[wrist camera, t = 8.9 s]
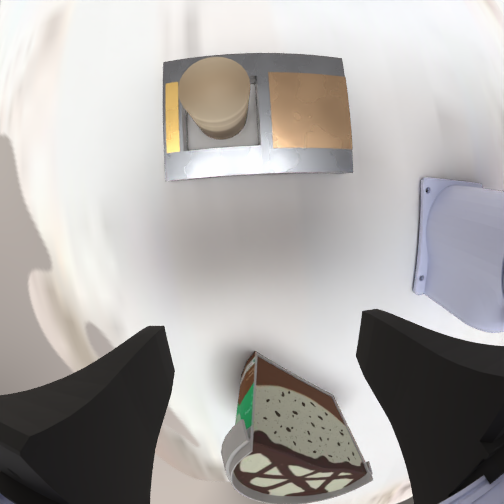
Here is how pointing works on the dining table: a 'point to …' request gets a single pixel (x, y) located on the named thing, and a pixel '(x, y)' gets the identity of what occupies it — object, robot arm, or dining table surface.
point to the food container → (289, 440)
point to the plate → (269, 120)
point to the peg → (216, 96)
